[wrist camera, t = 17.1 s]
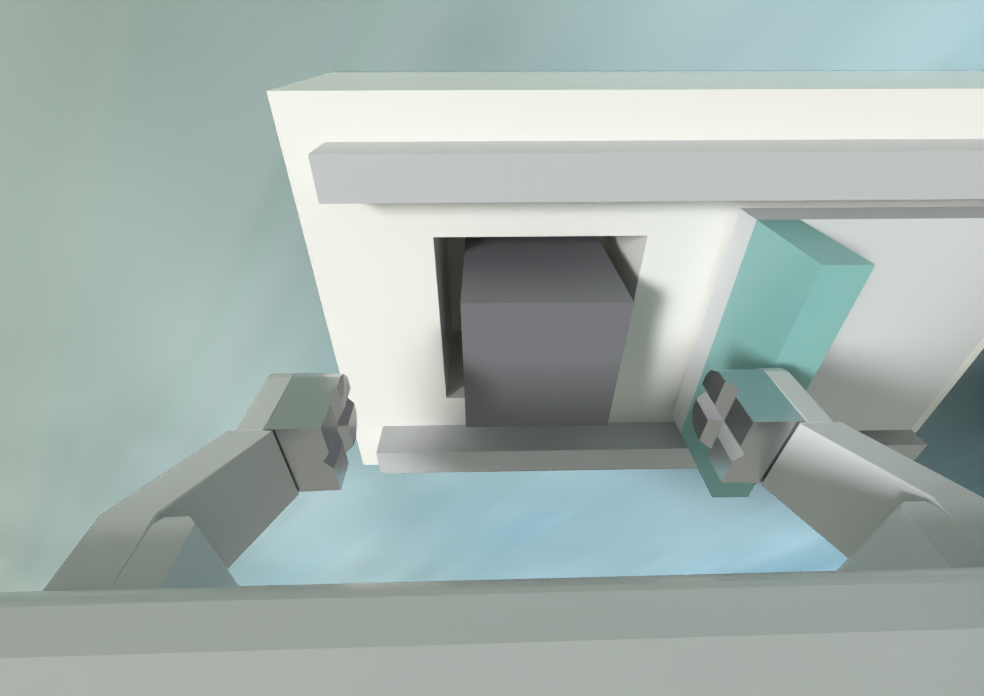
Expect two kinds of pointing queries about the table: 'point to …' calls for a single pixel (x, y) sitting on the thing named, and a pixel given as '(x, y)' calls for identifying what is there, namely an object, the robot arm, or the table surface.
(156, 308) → the table surface
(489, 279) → the plug
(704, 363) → the shutter
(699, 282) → the socket box
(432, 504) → the table surface
